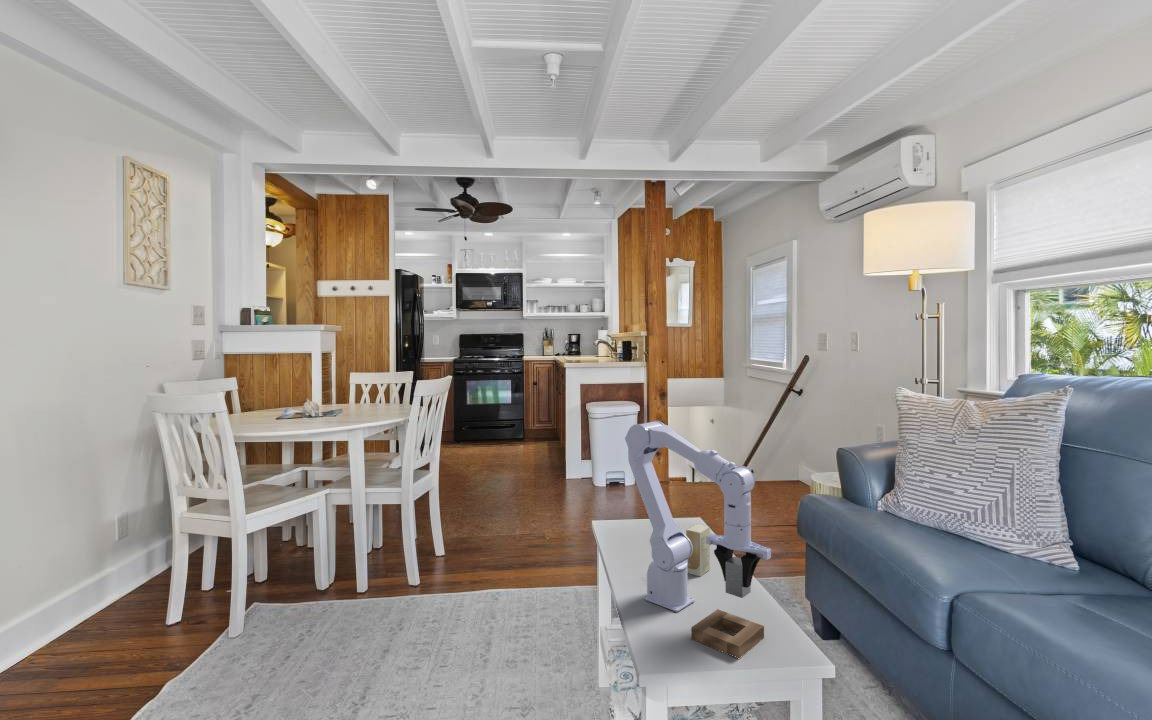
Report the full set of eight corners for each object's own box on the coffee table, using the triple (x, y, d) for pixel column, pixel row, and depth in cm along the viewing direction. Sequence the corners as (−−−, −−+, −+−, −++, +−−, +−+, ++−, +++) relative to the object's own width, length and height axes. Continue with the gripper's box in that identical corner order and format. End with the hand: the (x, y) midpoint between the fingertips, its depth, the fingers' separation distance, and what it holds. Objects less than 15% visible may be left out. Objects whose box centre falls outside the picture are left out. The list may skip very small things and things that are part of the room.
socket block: (691, 638, 116) (691, 627, 116) (717, 620, 124) (717, 609, 124) (739, 659, 108) (739, 646, 108) (763, 637, 116) (764, 626, 116)
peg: (725, 592, 122) (725, 561, 122) (733, 586, 125) (734, 556, 125) (742, 598, 119) (742, 566, 119) (750, 592, 122) (750, 561, 122)
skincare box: (696, 566, 155) (696, 523, 155) (710, 569, 152) (710, 526, 152) (685, 573, 150) (685, 529, 150) (700, 577, 147) (699, 532, 147)
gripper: (776, 525, 119) (776, 586, 120) (716, 511, 129) (716, 568, 129) (763, 533, 114) (763, 597, 114) (701, 518, 124) (701, 578, 124)
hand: (737, 583), depth 122 cm, fingers closed on peg, 4 cm apart
